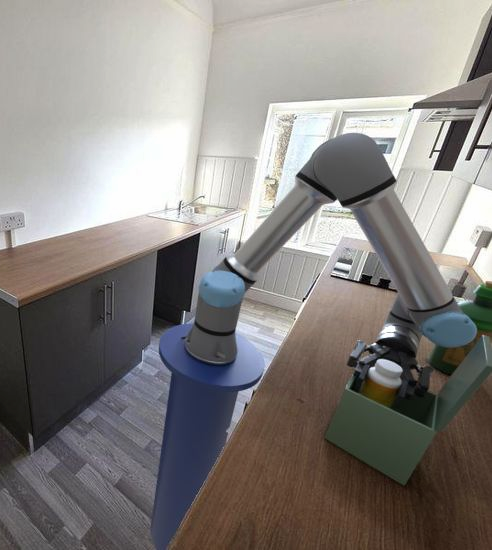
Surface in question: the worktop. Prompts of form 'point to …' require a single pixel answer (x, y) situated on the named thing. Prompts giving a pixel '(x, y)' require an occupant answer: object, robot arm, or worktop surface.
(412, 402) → the box
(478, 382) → the box lid
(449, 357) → the bottle
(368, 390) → the supplement bottle
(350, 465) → the worktop surface
